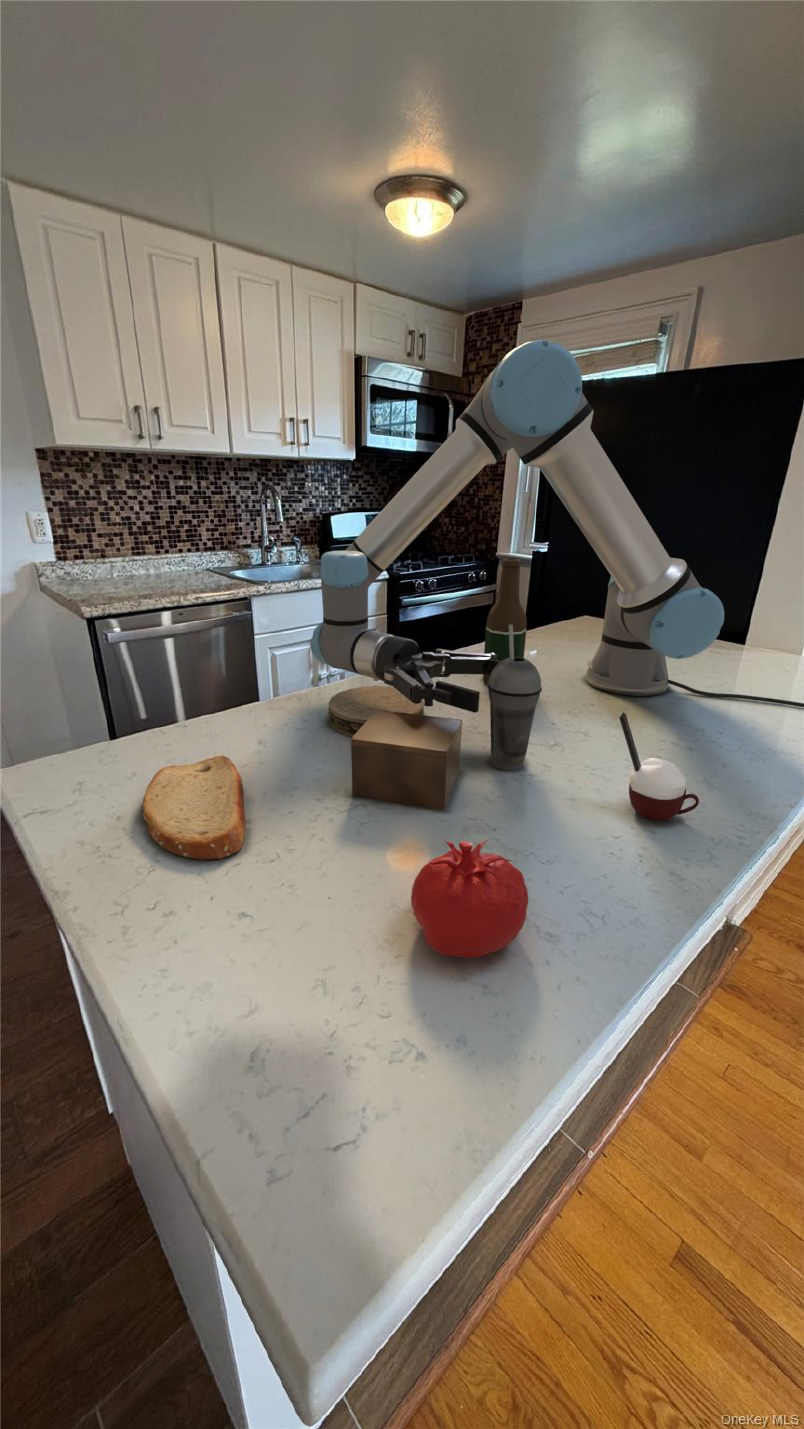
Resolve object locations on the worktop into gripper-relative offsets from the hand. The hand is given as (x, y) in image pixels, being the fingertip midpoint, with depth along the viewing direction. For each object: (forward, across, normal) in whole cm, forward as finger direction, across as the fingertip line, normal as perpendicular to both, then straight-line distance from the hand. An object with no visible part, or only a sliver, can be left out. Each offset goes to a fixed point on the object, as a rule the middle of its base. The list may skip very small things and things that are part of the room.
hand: (505, 689), depth 77 cm
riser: (-5, +14, -11) cm, 19 cm away
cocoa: (+21, 0, -11) cm, 24 cm away
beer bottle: (-18, -31, -11) cm, 37 cm away
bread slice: (-20, +35, -11) cm, 42 cm away
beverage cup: (+1, 0, -11) cm, 11 cm away
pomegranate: (+15, +31, -11) cm, 36 cm away
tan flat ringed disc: (-24, 0, -11) cm, 26 cm away
